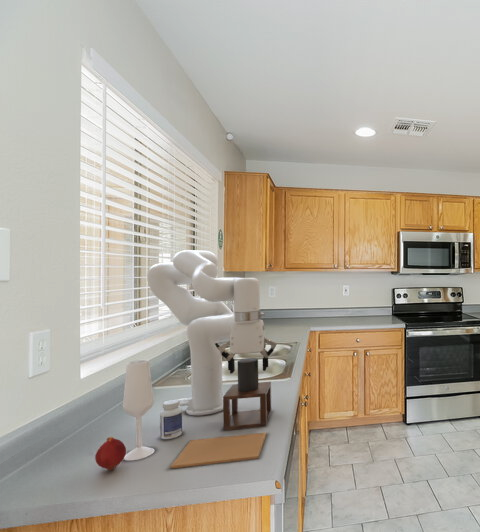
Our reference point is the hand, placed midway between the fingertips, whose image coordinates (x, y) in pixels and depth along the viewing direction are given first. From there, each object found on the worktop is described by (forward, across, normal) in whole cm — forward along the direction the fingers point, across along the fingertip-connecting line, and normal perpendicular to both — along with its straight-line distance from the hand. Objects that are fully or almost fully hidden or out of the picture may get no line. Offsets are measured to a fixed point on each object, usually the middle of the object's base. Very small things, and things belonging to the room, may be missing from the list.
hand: (248, 371), depth 118 cm
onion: (+16, +27, +23) cm, 39 cm away
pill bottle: (+16, +20, +6) cm, 26 cm away
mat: (+16, +3, +19) cm, 25 cm away
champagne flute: (+16, +24, +16) cm, 33 cm away
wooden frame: (+16, 0, 0) cm, 16 cm away
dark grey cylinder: (+6, 0, 0) cm, 6 cm away
